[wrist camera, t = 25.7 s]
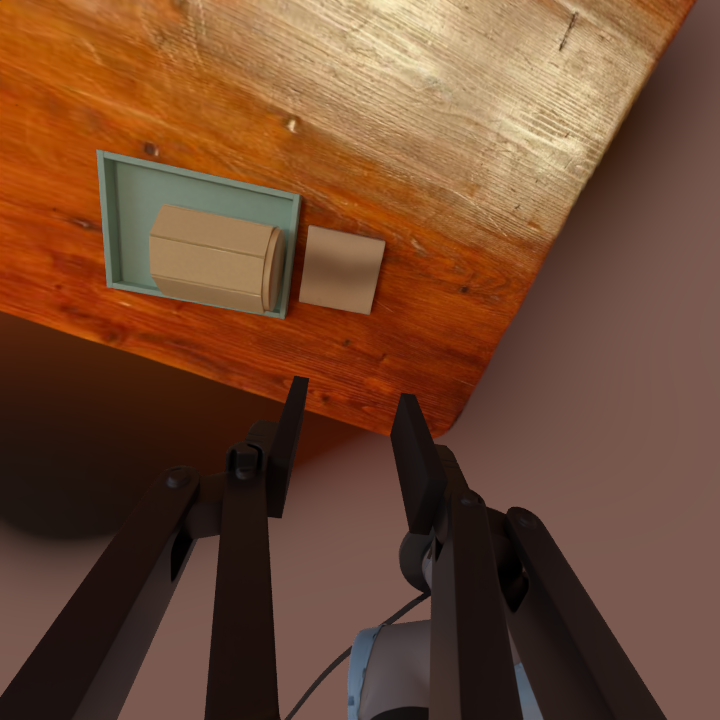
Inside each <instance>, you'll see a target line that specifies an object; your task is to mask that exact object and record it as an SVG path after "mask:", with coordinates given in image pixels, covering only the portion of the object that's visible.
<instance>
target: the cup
mask: <svg viewBox="0 0 720 720" xmlns="http://www.w3.org/2000/svg"><path fill="white" fill-rule="evenodd" d="M150 234H151V236H149V249H150V273H151V274H152V275H151V277H152V278H153V280H154V282H155V283H156V285H157V286H158V288H159V289H160V291H161V292H162V294H163V295H165V296H169V297H175V298H180V299H186V300H191V301H197V302H202V303H208V304H213V305H218V306H224V307H229V308H235V309H240V310H246V311H251V312H257V313H262V314H265V312H266V311H273V310H274V308H275V306H276V303H277V300H278V297H279V293H280V289H281V284H282V278H283V272H284V264H285V252H286V238H285V231H284V230H283V229H282V228H280V227H279V226H278V225H273V224H268V223H264V222H259V221H254V220H250V219H245V218H240V217H236V216H231V215H226V214H221V213H217V212H212V211H207V210H203V209H198V208H193V207H189V206H184V205H178V204H164V205H162V206H161V209H160V211H159V213H158V215H157V218H156V220H155V222H154V224H153V226H152V229H151V231H150Z"/></svg>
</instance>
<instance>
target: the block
mask: <svg viewBox="0 0 720 720" xmlns="http://www.w3.org/2000/svg"><path fill="white" fill-rule="evenodd" d="M385 243H386V242H385V241H384V240H382V239H378V238H373V237H368V236H364V235H359V234H354V233H350V232H345V231H340V230H336V229H331V228H326V227H322V226H317V225H309V230H308V237H307V244H306V252H305V259H304V266H303V273H302V281H301V288H300V295H299V302H303V303H308V304H313V305H319V306H324V307H329V308H335V309H340V310H345V311H350V312H356V313H361V314H366V315H370V311H371V307H372V302H373V298H374V293H375V288H376V284H377V279H378V275H379V270H380V266H381V261H382V257H383V252H384V248H385Z"/></svg>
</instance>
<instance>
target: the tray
mask: <svg viewBox="0 0 720 720" xmlns="http://www.w3.org/2000/svg"><path fill="white" fill-rule="evenodd" d="M97 162H98V175H99V188H100V201H101V214H102V227H103V240H104V253H105V266H106V279H107V287H110V288H116V289H121V290H127V291H132V292H138V293H143V294H149V295H154V296H160V297H165V298H171V299H176V300H182V301H187V302H193V303H198V304H204V305H209V306H215V307H220V308H226V309H231V310H237V311H242V312H247V313H253V314H258V315H264V316H269V317H275V318H281V319H285V317H286V315H287V311H288V303H289V296H290V288H291V280H292V272H293V264H294V256H295V248H296V240H297V232H298V224H299V216H300V209H301V201H302V195H299V194H294V193H290V192H286V191H281V190H277V189H272V188H268V187H263V186H259V185H254V184H250V183H245V182H241V181H236V180H232V179H228V178H223V177H219V176H214V175H210V174H205V173H201V172H196V171H192V170H187V169H183V168H178V167H174V166H169V165H165V164H161V163H156V162H152V161H147V160H143V159H138V158H134V157H129V156H125V155H120V154H116V153H111V152H107V151H103V150H98V149H97ZM164 204H178V205H184V206H189V207H193V208H198V209H203V210H207V211H212V212H217V213H221V214H226V215H231V216H236V217H240V218H245V219H250V220H254V221H259V222H264V223H268V224H273V225H278V226H279V227H280V228H282V229H283V230H284V231H285V238H286V252H285V264H284V272H283V278H282V284H281V289H280V293H279V297H278V300H277V303H276V306H275V308H274V310H273V311H266V312H265V314H262V313H257V312H251V311H246V310H240V309H235V308H229V307H224V306H218V305H213V304H208V303H202V302H197V301H191V300H186V299H180V298H175V297H169V296H165V295H163V294H162V292H161V291H160V289H159V288H158V286H157V285H156V283H155V282H154V280H153V278H152V277H151V275H152V274H151V273H150V249H149V236H151V234H150V231H151V229H152V226H153V224H154V222H155V220H156V218H157V215H158V213H159V211H160V209H161V206H162V205H164Z"/></svg>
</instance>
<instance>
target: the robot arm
mask: <svg viewBox="0 0 720 720" xmlns="http://www.w3.org/2000/svg"><path fill="white" fill-rule="evenodd" d="M308 382H309V378H305V377H299V376H294V379H293V382H292V385H291V388H290V391H289V394H288V397H287V400H286V403H285V406H284V409H283V412H282V416H281V418H280V421H279V422H271V421H265V420H258V421H257V422H255V423H254V424H253V425H252V426H251V428H250V430H249V432H248V434H247V436H246V438H245V441H243V442H238V443H236V444H233V445H232V446H231V447H230V448H229V449H228V451H227V454H226V470H225V471H224V472H221V473H219V474H214V475H207V476H200V473H199V471H198V470H196V469H195V468H193V467H189V466H176V467H172V468H169V469H167V470H165V471H163V472H162V473H161V474H160V475H159V476H158V477H157V478H156V479H155V481H154V482H153V483H152V485H151V487H150V488H149V489H148V490H147V492H146V493H145V495H144V496H143V498H142V499H141V500H140V502H139V503H138V505H137V506H136V507H135V509H134V510H133V512H132V513H131V514H130V516H129V517H128V519H127V520H126V521H125V523H124V524H123V526H122V527H121V528H120V530H119V531H118V533H117V534H116V536H115V537H114V538H113V540H112V541H111V542H110V544H109V545H108V547H107V548H106V549H105V551H104V552H103V554H102V555H101V557H100V558H99V559H98V561H97V562H96V564H95V565H94V566H93V568H92V569H91V571H90V572H89V573H88V575H87V576H86V578H85V579H84V581H83V582H82V583H81V585H80V586H79V588H78V589H77V590H76V592H75V593H74V594H73V596H72V597H71V599H70V600H69V601H68V603H67V604H66V606H65V607H64V608H63V610H62V611H61V613H60V614H59V615H58V617H57V618H56V620H55V621H54V622H53V624H52V625H51V627H50V628H49V630H48V631H47V632H46V634H45V635H44V637H43V638H42V639H41V641H40V642H39V644H38V645H37V646H36V648H35V649H34V651H33V652H32V654H31V655H30V656H29V658H28V659H27V661H26V662H25V663H24V665H23V666H22V667H21V669H20V670H19V672H18V673H17V674H16V676H15V677H14V679H13V680H12V681H11V683H10V684H9V686H8V687H7V689H6V690H5V691H4V693H3V694H2V696H1V697H0V720H117V718H118V716H119V714H120V711H121V709H122V707H123V705H124V703H125V700H126V698H127V696H128V694H129V691H130V689H131V687H132V685H133V683H134V680H135V678H136V676H137V674H138V671H139V669H140V667H141V665H142V662H143V660H144V658H145V656H146V654H147V651H148V649H149V647H150V645H151V642H152V640H153V638H154V636H155V633H156V631H157V629H158V627H159V625H160V622H161V620H162V618H163V616H164V613H165V611H166V609H167V607H168V604H169V602H170V600H171V598H172V596H173V593H174V591H175V589H176V587H177V584H178V582H179V580H180V578H181V575H182V573H183V571H184V569H185V567H186V564H187V562H188V560H189V558H190V555H191V553H192V551H193V548H194V546H195V544H196V542H197V540H198V538H204V537H209V536H215V535H220V542H219V554H218V565H217V577H216V590H215V601H214V613H213V624H212V636H211V649H210V660H209V671H208V684H207V695H206V707H205V719H204V720H281V719H280V715H279V705H278V689H277V673H276V654H275V638H274V620H273V605H272V588H271V569H270V552H269V535H268V518H267V517H274V518H282V514H283V509H284V504H285V500H286V495H287V490H288V486H289V481H290V477H291V472H292V467H293V463H294V458H295V454H296V449H297V444H298V440H299V435H300V431H301V426H302V421H303V414H304V408H305V401H306V395H307V388H308ZM390 437H391V441H392V447H393V452H394V456H395V461H396V466H397V471H398V476H399V481H400V486H401V491H402V496H403V501H404V506H405V511H406V516H407V521H408V526H409V531H410V533H413V534H422V535H429V533H430V530H431V528H432V525H433V527H434V530H435V537H434V539H433V540H432V541H431V542H429V544H428V545H427V546H426V547H425V549H424V550H423V553H422V555H421V567H422V572H423V576H424V579H425V580H426V582H427V584H428V585H429V587H430V589H429V590H427V591H426V592H424V593H423V594H421V595H420V596H418V597H417V598H415V599H414V600H412V601H411V602H410V603H408V604H407V605H406V606H404V607H403V608H402V609H401V610H399V611H398V612H397V613H396V614H394V615H393V616H392V617H390V618H389V619H388V620H386V621H385V622H383V623H382V624H380V625H379V626H378V627H372V628H367V629H364V630H362V631H360V632H359V634H357V636H356V637H355V639H354V642H353V645H352V646H351V647H350V648H349V649H347V650H346V651H345V652H344V653H343V654H341V655H340V656H339V657H338V658H337V659H336V660H335V661H334V662H333V663H332V664H331V665H330V666H329V667H328V668H327V669H326V670H325V671H324V672H323V673H322V674H321V675H320V676H319V678H318V679H317V680H316V681H315V682H314V683H313V684H312V686H311V687H310V688H309V689H308V690H307V692H306V693H305V694H304V696H303V697H302V698H301V700H300V701H299V702H298V703H297V705H296V706H295V707H294V708H293V710H292V711H291V713H290V714H289V715H288V716H287V717H286V718H285V720H291V718H292V717H293V716H294V715H295V713H296V712H297V711H298V709H299V708H300V707H301V706H302V704H303V703H304V702H305V700H306V699H307V698H308V697H309V695H310V694H311V693H312V692H313V691H314V690H315V688H316V687H317V686H318V685H319V684H320V683H321V681H322V680H323V679H324V678H325V677H326V676H327V675H328V674H329V673H330V672H331V671H332V670H333V669H334V668H335V667H336V666H337V665H339V664H340V663H341V662H342V661H343V660H344V659H345V658H346V657H348V656H349V655H350V654H351V655H350V662H349V673H348V697H349V698H348V720H667V719H666V717H665V715H664V714H663V712H662V711H661V709H660V708H659V706H658V705H657V703H656V701H655V700H654V698H653V696H652V695H651V693H650V692H649V690H648V689H647V687H646V685H645V684H644V682H643V681H642V679H641V678H640V676H639V675H638V673H637V671H636V670H635V668H634V666H633V665H632V663H631V662H630V660H629V658H628V657H627V655H626V654H625V652H624V651H623V649H622V648H621V646H620V644H619V643H618V641H617V639H616V638H615V636H614V635H613V633H612V632H611V630H610V628H609V627H608V625H607V624H606V622H605V620H604V619H603V617H602V616H601V614H600V613H599V611H598V610H597V608H596V606H595V605H594V603H593V601H592V600H591V598H590V597H589V595H588V594H587V592H586V590H585V589H584V587H583V586H582V584H581V583H580V581H579V579H578V578H577V576H576V575H575V573H574V572H573V570H572V568H571V567H570V565H569V564H568V562H567V560H566V559H565V557H564V556H563V554H562V552H561V551H560V549H559V548H558V546H557V545H556V543H555V541H554V540H553V538H552V537H551V535H550V533H549V532H548V530H547V529H546V527H545V526H544V524H543V523H542V521H541V520H540V519H539V518H538V517H537V516H536V515H534V514H533V513H532V512H530V511H528V510H526V509H524V508H521V507H511V508H510V509H508V511H507V513H506V514H504V513H501V512H498V511H496V510H493V509H491V508H488V507H486V505H485V502H484V500H483V499H482V498H481V496H480V495H478V494H477V493H476V492H474V491H473V490H470V489H469V487H468V484H467V483H466V480H465V478H464V476H463V474H462V471H461V469H460V467H459V465H458V463H457V460H456V458H455V456H454V454H453V452H452V451H451V450H450V449H449V448H448V447H447V446H445V445H438V444H434V442H433V439H432V437H431V434H430V432H429V429H428V427H427V424H426V421H425V419H424V416H423V414H422V411H421V409H420V406H419V403H418V401H417V398H416V396H415V395H413V394H406V393H401V397H400V400H399V404H398V408H397V412H396V415H395V419H394V423H393V426H392V430H391V434H390ZM430 596H431V619H430V620H423V621H415V622H407V623H400V624H392V623H393V622H395V621H396V620H397V619H399V618H400V617H401V616H403V615H404V614H405V613H406V612H408V611H409V610H410V609H412V608H413V607H414V606H416V605H417V604H419V603H420V602H422V601H423V600H425V599H427V598H428V597H430ZM391 624H392V625H391Z"/></svg>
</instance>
